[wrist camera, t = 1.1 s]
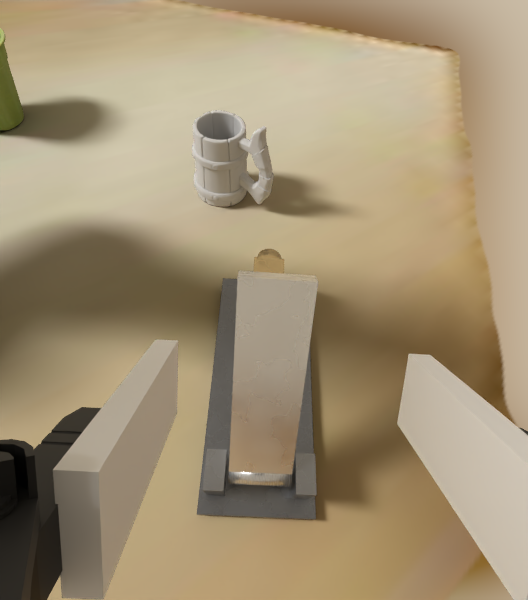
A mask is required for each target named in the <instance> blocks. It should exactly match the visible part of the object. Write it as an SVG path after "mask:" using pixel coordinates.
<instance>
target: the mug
mask: <svg viewBox="0 0 528 600" xmlns="http://www.w3.org/2000/svg"><path fill="white" fill-rule="evenodd" d="M245 127H246V126H245V123H244V121H243V120H242V119H241V118H240V117H239V116H237V115H235V114H233V113H230V112H227V111H219V110H215V111H211V112H210V111H209V112H207V113H204V114H203V115H202V116H200V117H198V118H197V119H196V120H195V121H194V123H193V139H194V142H193V145H192V156H193V158H194V159H195V168H196V171H195V174H194V186H195V188H196V190H197V192H198V195H199V197H200V198H201V199H202V200H203V201H204V202H207V203H208V204H210V205H213V206H221V207H227V206H230V204H231V206H232V205H235V204H237V203H239V202H240V201H241V200H242V199H243V198H244V197H245V195H246V192H247V191H248V192H249V193H250V194H251V195H252V197H253V198H254V200H255V201H256V203H257V204H261V203H262V202H263V201H264V200H265V199H267V198H268V196H269V195H270V193H271V191H272V183H273V178H274V175H273V173H272V166H271V160H270V156H269V152H268V146H267V142H266V127H265V126H263V127H261V128H259V129H257V130H256V131H255V132H254V133H253V134H252V136H251V139H250V140H249V139H246V128H245ZM248 152H249V153H250V154H251V155H252V158H253V160H254V163H255V165H256V167H257V168H258V169H259V172H260V173H259V180H258V181H257V182H255V181H254V180H253V179H252V178H251V177H250V176H249V174H248V171H247V160H246V159H247V156H248Z"/></svg>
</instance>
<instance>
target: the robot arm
mask: <svg viewBox="0 0 528 600" xmlns="http://www.w3.org/2000/svg"><path fill="white" fill-rule="evenodd" d="M177 382H178V341H177V340H160V339H155V341H154V342H153V343H152V345H151V346H150V347H149V348H148V350H147V351H146V352H145V353H144V355H143V356H142V357H141V359H140V360H139V361H138V362H137V364H136V365H135V366H134V367H133V369H132V370H131V371H130V373H129V374H128V375H127V376H126V378H125V379H124V380H123V381H122V383H121V384H120V385H119V386H118V388H117V389H116V390H115V392H114V393H113V394H112V395H111V397H110V398H109V399H108V400H107V402H106V403H105V404H104V406H103V407H102V408H86V407H82V408H80V409H78V410H76V411H75V412H73V413H71V414H69V415H67V416H66V417H64V418H63V419H62V420H61V421H60V422H59V423H58V424H57V425H56V426H55V428H54V429H53V430H52V432H51V433H49V434H48V435H47V436H46V437H45V438H44V439H43V440H42V443H41V444H39V445H38V446H37V447H36V448H35V449H34V450H33V447H32V446H31V445H29V444H28V443H26V442H25V441H19V440H13V439H9V440H0V600H47V598H48V596H49V594H50V593H51V591H52V589H53V587H54V585H55V583H56V581H57V580H58V578H59V576H61V589H62V598H80V599H104V597H105V595H106V592H107V590H108V587H109V584H110V582H111V579H112V577H113V574H114V572H115V569H116V567H117V564H118V562H119V559H120V557H121V554H122V551H123V549H124V546H125V544H126V541H127V539H128V536H129V534H130V531H131V529H132V526H133V524H134V521H135V518H136V516H137V513H138V511H139V508H140V506H141V503H142V501H143V498H144V496H145V493H146V490H147V488H148V485H149V483H150V480H151V478H152V475H153V473H154V470H155V468H156V465H157V463H158V460H159V457H160V455H161V452H162V450H163V447H164V445H165V442H166V440H167V437H168V435H169V432H170V430H171V427H172V424H173V422H174V419H175V417H176V414H177ZM397 424H398V426H399V427H400V429H401V430H402V432H403V434H404V435H405V437H406V438H407V440H408V441H409V443H410V444H411V446H412V447H413V449H414V450H415V452H416V453H417V455H418V456H419V458H420V459H421V461H422V462H423V464H424V465H425V467H426V468H427V470H428V471H429V473H430V474H431V476H432V477H433V479H434V480H435V482H436V483H437V485H438V486H439V488H440V489H441V491H442V492H443V494H444V495H445V497H446V498H447V500H448V502H449V503H450V505H451V506H452V508H453V509H454V511H455V512H456V514H457V515H458V517H459V518H460V520H461V521H462V523H463V524H464V526H465V527H466V529H467V530H468V532H469V533H470V535H471V536H472V538H473V539H474V541H475V542H476V544H477V545H478V547H479V548H480V550H481V551H482V553H483V554H484V556H485V557H486V559H487V560H488V562H489V563H490V565H491V566H492V568H493V569H494V571H495V573H496V574H497V576H498V577H499V578H500V580H501V581H502V583H503V585H504V586H505V588H506V589H507V591H508V592H509V594H510V595H511V597H512V598H513V600H528V432H527V431H526V430H524V429H522V428H518V427H517V426H516V425H515V424H513V423H512V422H511V421H510V420H509V419H507V418H506V417H505V416H504V415H503V414H501V413H500V412H499V411H498V410H496V409H495V408H494V407H493V406H492V405H490V404H489V403H488V402H487V401H486V400H484V399H483V398H482V397H481V396H480V395H478V394H477V393H476V392H475V391H473V390H472V389H471V388H470V387H469V386H467V385H466V384H465V383H464V382H463V381H461V380H460V379H459V378H458V377H457V376H455V375H454V374H453V373H452V372H450V371H449V370H448V369H447V368H446V367H444V366H443V365H442V364H441V363H440V362H438V361H437V360H436V359H435V358H433V357H432V356H431V355H425V354H409V356H408V362H407V368H406V374H405V380H404V386H403V392H402V398H401V404H400V410H399V416H398V422H397Z"/></svg>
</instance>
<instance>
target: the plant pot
mask: <svg viewBox="0 0 528 600" xmlns="http://www.w3.org/2000/svg"><path fill="white" fill-rule="evenodd" d="M4 42H5V34H4V32H3V30H2V29H1V28H0V130H9V129H12V128H14V127H16V126H17V125H19V124H20V123H21V122H22V120H23V118H24V114H23V109H22V106H21V103H20V100H19V96H18V93H17V90H16V87H15V84H14V80H13V77H12V74H11V71H10V68H9V64H8V61H7V58H8V57H7V53H6V49H5V46H4Z"/></svg>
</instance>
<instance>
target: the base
mask: <svg viewBox="0 0 528 600" xmlns="http://www.w3.org/2000/svg"><path fill="white" fill-rule="evenodd" d="M254 272H267V273H283V274H284V259H281V256H280V254H279V253H278V252H277V251H275V250H273V249H265V250H262V251H261V252H260V253H259V254H258V257H255V258H254ZM236 302H237V279H225V278H223V285H222V294H221V303H220V312H219V321H218V330H217V338H216V347H215V356H214V365H213V374H212V383H211V392H210V401H209V410H208V419H207V428H206V437H205V446H204V455H203V464H202V473H201V481H200V490H199V499H198V508H197V515H218V516H242V517H266V518H290V519H316V510H315V496H316V495H317V491H316V462H315V454H314V450H313V420H312V390H311V360H310V346H309V353H308V361H307V368H306V375H305V383H304V390H303V397H302V405H301V412H300V419H299V427H298V434H297V441H296V449H295V456H294V463H293V470H292V483H291V487H284V486H261V485H239V484H228V477H229V457H230V435H231V413H232V391H233V368H234V346H235V324H236Z"/></svg>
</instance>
